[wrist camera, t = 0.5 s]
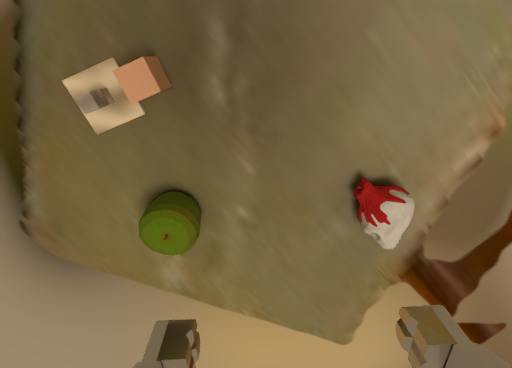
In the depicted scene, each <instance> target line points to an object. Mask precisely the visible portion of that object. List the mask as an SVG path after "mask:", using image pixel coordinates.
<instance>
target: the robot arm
mask: <svg viewBox="0 0 512 368" xmlns="http://www.w3.org/2000/svg"><path fill="white" fill-rule="evenodd" d="M399 315H400V317H401V318H400V319H399V320H398V321H397V324H396V333H397V337H398V340H399V342H400V344H401V346H402V348H403V349H405V350H406V351H407V352H409V356H408V360H409V362H410V364H411V366H412V368H512V366H511V365H509V364H508V363H506V362H505V361H503V360H501V359H500V358H498V357H497V356H495V355H494V354H492V353H490V352H489V351H487V350H486V349H484V348H483V347H481V346H480V345H478V344H477V343H472V342H471V341H470V340H469V338H468V337H467V336H466V335H465V333H464V332H463V331H462V329H461V328H460V327H459V326H458V324H457V323H456V322H455V320H454V319H453V318H452V316H451V315H450V314H449V313H448V311H447V310H446V309H445V307H443V306H442V305H430V306H426V305H425V306H411V307H402V308H401V309H400V311H399ZM196 329H197V323H196V320H194V319H193V320H163V321H157V322H156V323H155V325H154V328H153V331H152V333H151V336H150V339H149V342H148V345H147V348H146V350H145V354H144V356H143V359H142V362H138V363H137V364H136V365H135V366H134V367H133V368H196V367H195V363H196V361H197V360H198V358H199V352H200V337H199V333H198V332H197V331H196Z"/></svg>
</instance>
